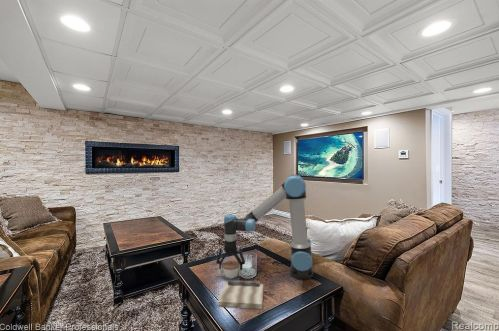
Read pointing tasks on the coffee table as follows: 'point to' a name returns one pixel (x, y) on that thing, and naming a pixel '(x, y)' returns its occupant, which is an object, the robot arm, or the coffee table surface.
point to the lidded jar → (230, 269)
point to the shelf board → (242, 294)
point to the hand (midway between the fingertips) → (230, 274)
